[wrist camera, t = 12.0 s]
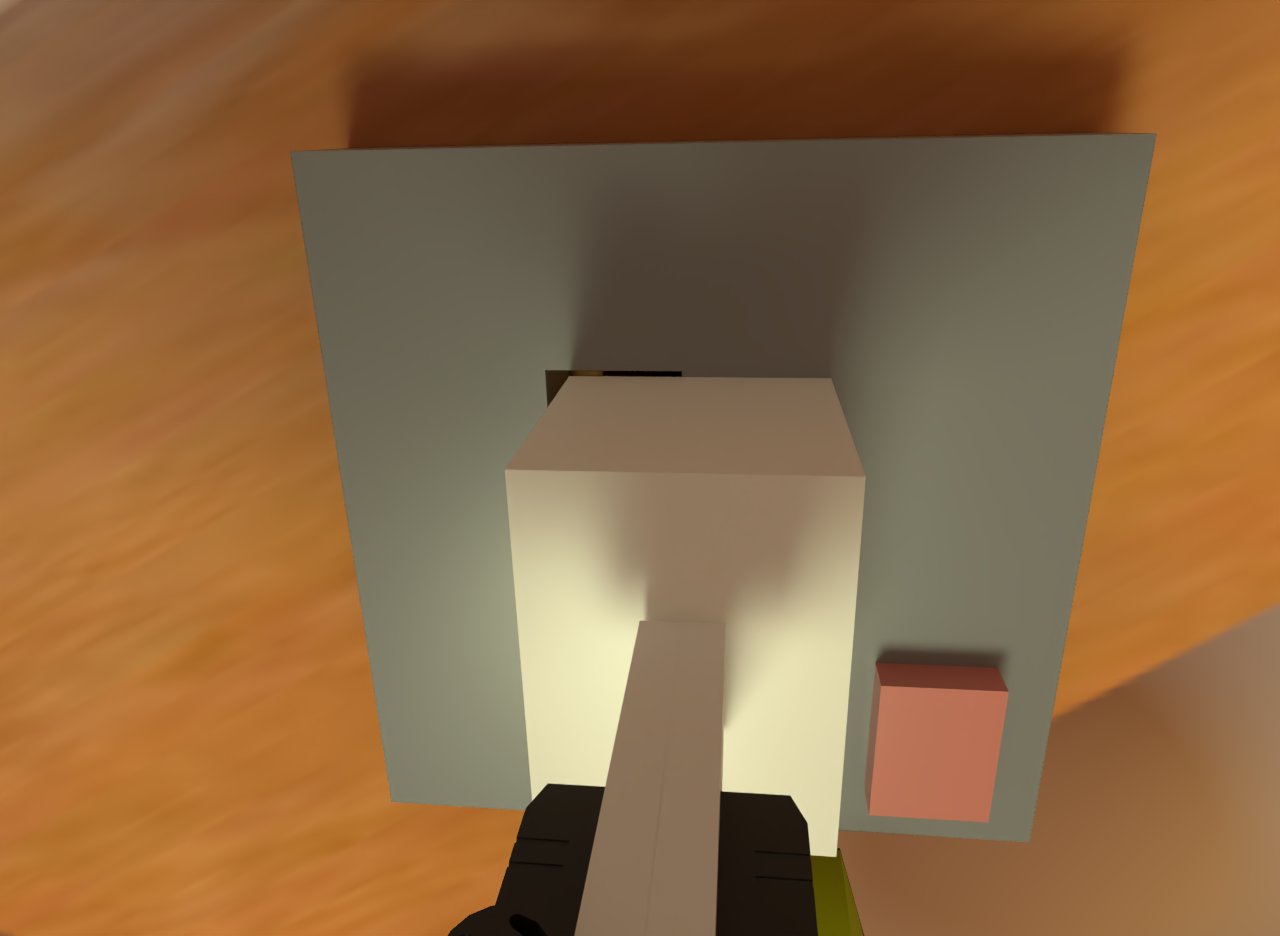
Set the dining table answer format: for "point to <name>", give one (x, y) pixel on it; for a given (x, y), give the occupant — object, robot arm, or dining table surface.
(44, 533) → the dining table surface
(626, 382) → the plug
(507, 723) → the socket plate
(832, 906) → the puzzle toy
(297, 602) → the dining table surface
